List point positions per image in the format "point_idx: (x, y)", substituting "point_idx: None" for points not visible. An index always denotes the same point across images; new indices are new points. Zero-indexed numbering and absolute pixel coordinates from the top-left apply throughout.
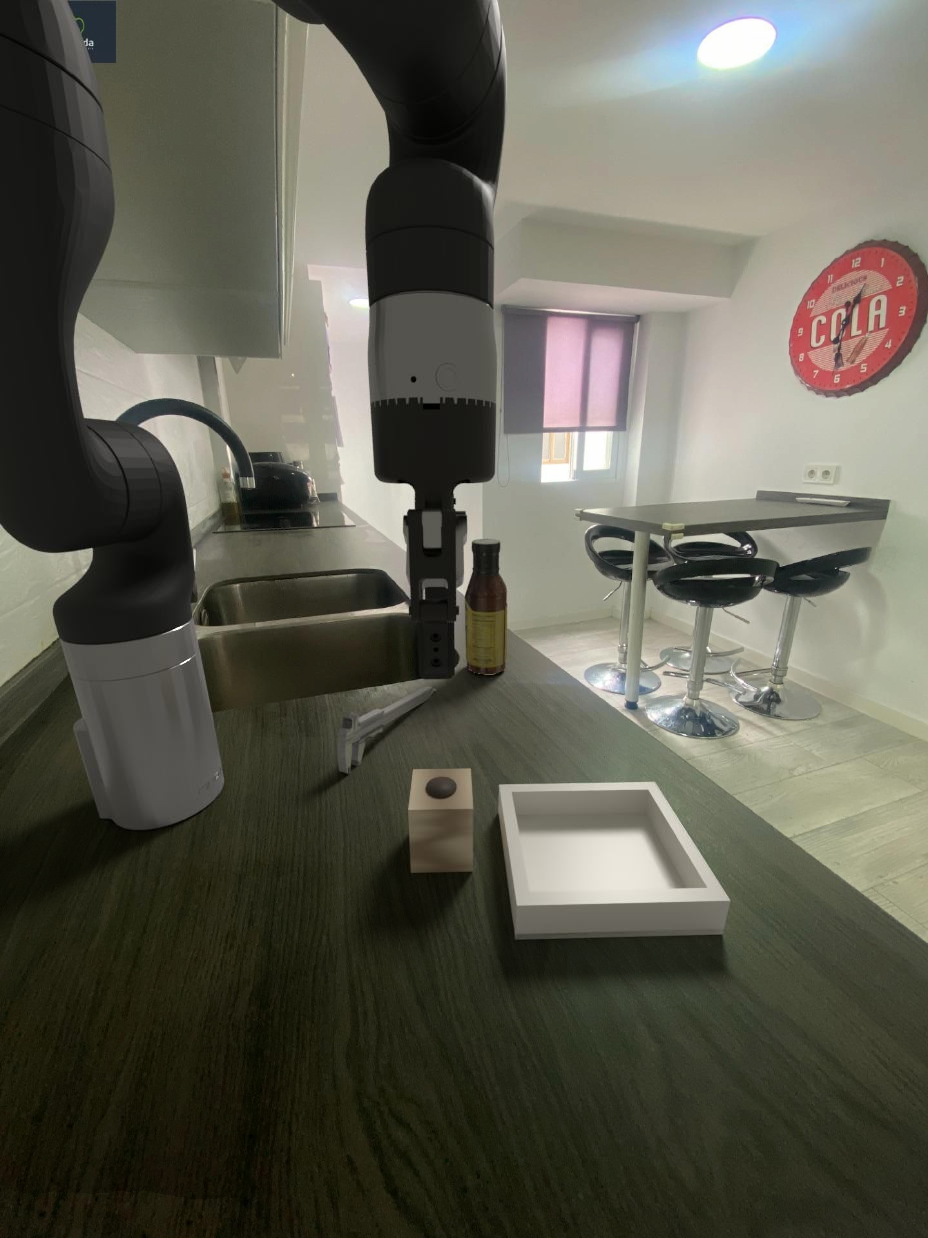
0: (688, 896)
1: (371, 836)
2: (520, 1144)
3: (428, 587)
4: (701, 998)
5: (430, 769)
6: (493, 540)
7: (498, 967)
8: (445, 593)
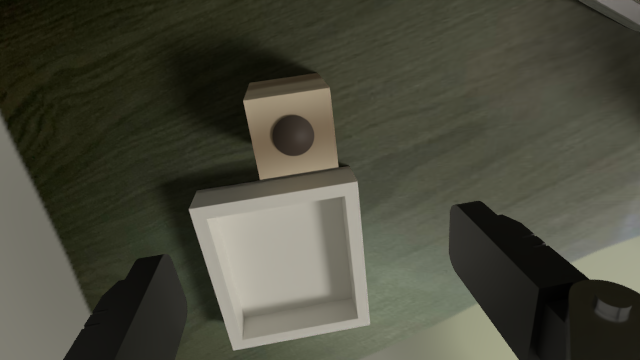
0: (231, 327)
1: (296, 18)
2: (60, 199)
3: (532, 296)
4: None
5: (332, 113)
6: None
7: (169, 178)
8: (511, 325)
